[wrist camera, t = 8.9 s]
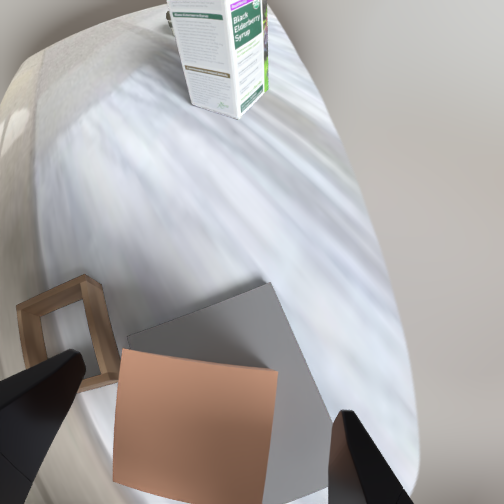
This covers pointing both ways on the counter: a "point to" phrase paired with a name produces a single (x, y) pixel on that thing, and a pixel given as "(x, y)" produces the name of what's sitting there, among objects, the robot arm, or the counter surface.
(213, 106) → the syrup box
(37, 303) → the walnut holder
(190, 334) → the slate board
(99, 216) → the counter surface
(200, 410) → the terracotta block
